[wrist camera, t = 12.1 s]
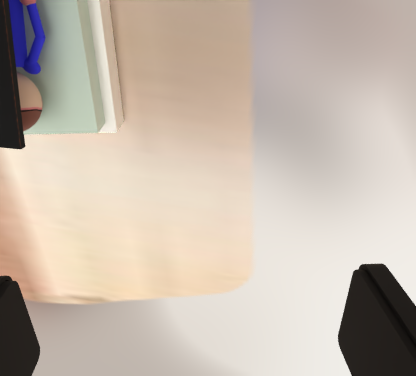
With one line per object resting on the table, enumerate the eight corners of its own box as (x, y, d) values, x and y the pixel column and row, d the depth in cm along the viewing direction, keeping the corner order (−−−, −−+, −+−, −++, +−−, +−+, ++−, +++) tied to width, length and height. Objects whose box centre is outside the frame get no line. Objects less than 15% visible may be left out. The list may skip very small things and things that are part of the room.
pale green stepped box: (-62, -100, 29) (-131, -129, 23) (97, -100, 29) (71, -128, 23) (2, 123, 38) (-35, 146, 32) (124, 120, 38) (110, 143, 32)
